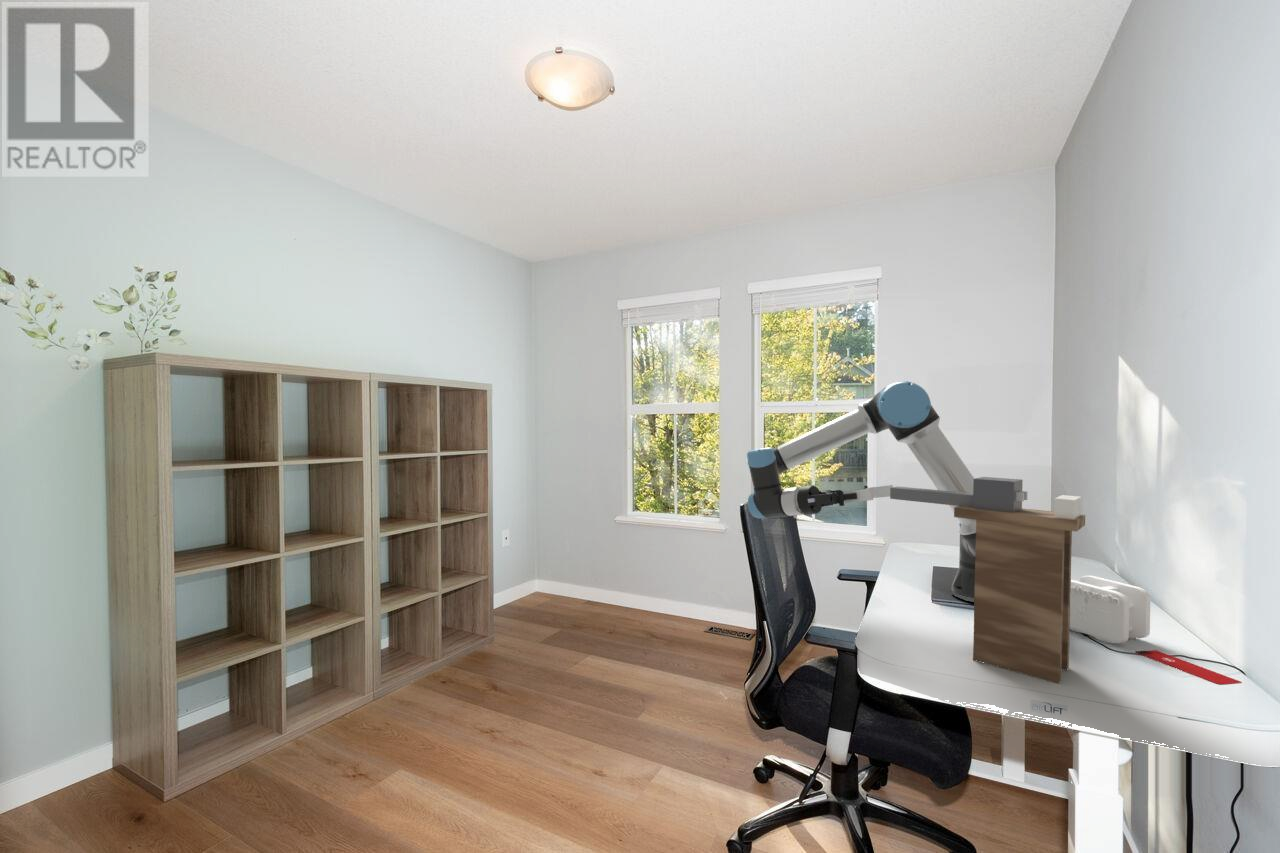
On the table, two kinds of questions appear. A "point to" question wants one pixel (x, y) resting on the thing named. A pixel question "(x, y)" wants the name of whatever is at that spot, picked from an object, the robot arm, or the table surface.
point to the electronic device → (1188, 667)
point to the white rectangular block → (1067, 507)
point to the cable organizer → (1109, 609)
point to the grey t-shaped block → (971, 495)
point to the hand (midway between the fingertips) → (882, 492)
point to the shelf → (1022, 589)
